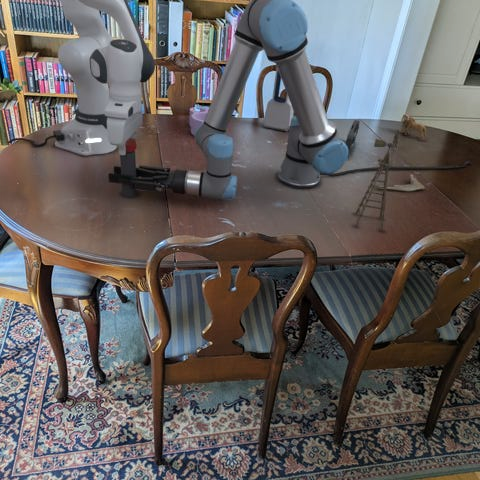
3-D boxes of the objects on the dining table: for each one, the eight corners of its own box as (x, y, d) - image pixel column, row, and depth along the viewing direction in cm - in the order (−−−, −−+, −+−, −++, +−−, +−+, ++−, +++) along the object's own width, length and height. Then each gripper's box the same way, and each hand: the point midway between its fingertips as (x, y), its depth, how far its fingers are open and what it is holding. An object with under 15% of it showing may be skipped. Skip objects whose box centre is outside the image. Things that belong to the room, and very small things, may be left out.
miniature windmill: (382, 232, 141) (411, 137, 125) (354, 227, 142) (379, 132, 126) (381, 217, 149) (408, 126, 133) (354, 213, 150) (378, 122, 134)
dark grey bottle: (121, 191, 148) (118, 142, 139) (135, 190, 150) (133, 141, 141) (123, 197, 145) (120, 148, 136) (138, 196, 146) (136, 147, 137)
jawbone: (429, 189, 172) (431, 184, 171) (394, 201, 161) (396, 196, 160) (410, 177, 177) (412, 172, 176) (375, 189, 167) (376, 184, 165)
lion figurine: (395, 132, 222) (400, 114, 217) (400, 130, 225) (405, 112, 220) (425, 142, 214) (431, 123, 209) (429, 139, 218) (435, 120, 213)
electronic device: (292, 127, 214) (303, 59, 198) (288, 132, 208) (299, 62, 192) (266, 122, 217) (275, 54, 201) (262, 127, 211) (270, 57, 194)
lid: (132, 153, 136) (132, 146, 135) (115, 150, 137) (114, 143, 136) (139, 146, 141) (138, 140, 140) (122, 144, 142) (122, 137, 140)
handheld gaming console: (349, 160, 187) (354, 136, 182) (342, 158, 188) (347, 134, 183) (355, 142, 206) (361, 119, 201) (349, 140, 207) (354, 118, 201)
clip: (182, 123, 206) (183, 107, 202) (209, 122, 210) (210, 106, 207) (197, 140, 191) (197, 123, 187) (225, 138, 195) (226, 122, 191)
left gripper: (127, 91, 140) (128, 135, 148) (101, 112, 123) (105, 160, 131) (147, 94, 140) (148, 138, 148) (125, 115, 123) (127, 163, 130)
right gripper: (181, 206, 138) (103, 197, 139) (190, 181, 153) (120, 173, 153) (181, 184, 134) (101, 174, 134) (191, 160, 149) (119, 151, 149)
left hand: (127, 148), depth 139 cm, fingers open, 7 cm apart
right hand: (111, 174), depth 144 cm, fingers closed on dark grey bottle, 5 cm apart
